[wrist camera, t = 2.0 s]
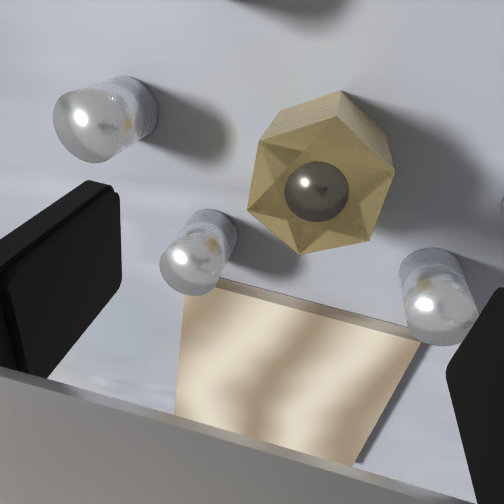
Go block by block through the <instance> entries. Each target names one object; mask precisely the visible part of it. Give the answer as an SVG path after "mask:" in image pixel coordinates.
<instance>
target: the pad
mask: <svg viewBox="0 0 504 504" xmlns="http://www.w3.org/2000/svg"><path fill="white" fill-rule="evenodd" d="M420 344H421V341H420V340H418V339H417V338H415V337H414V336H413V335H412V333H411V332H410V330H409V328H407V327H403V326H400V325H396V324H392V323H388V322H385V321H381V320H377V319H373V318H370V317H366V316H362V315H358V314H355V313H351V312H347V311H343V310H339V309H336V308H332V307H328V306H324V305H321V304H317V303H313V302H309V301H306V300H302V299H298V298H294V297H291V296H287V295H283V294H279V293H275V292H272V291H268V290H264V289H260V288H257V287H253V286H249V285H245V284H242V283H238V282H234V281H230V280H227V279H223V278H219V279H218V281H217V283H216V285H215V287H214V288H213V289H212V290H211V291H210V292H209V293H207V294H205V295H201V296H189V295H185V298H184V309H183V321H182V332H181V344H180V355H179V367H178V378H177V390H176V401H175V413H174V415H176V416H179V417H182V418H186V419H189V420H193V421H196V422H200V423H203V424H207V425H210V426H213V427H217V428H220V429H224V430H227V431H231V432H234V433H237V434H241V435H244V436H248V437H251V438H255V439H258V440H261V441H265V442H268V443H272V444H275V445H278V446H282V447H285V448H289V449H292V450H296V451H299V452H302V453H306V454H309V455H313V456H316V457H319V458H323V459H326V460H330V461H333V462H336V463H340V464H343V465H347V466H350V467H352V466H353V464H354V462H355V461H356V459H357V457H358V455H359V453H360V452H361V450H362V448H363V446H364V444H365V443H366V441H367V439H368V437H369V435H370V434H371V432H372V430H373V428H374V426H375V425H376V423H377V421H378V419H379V417H380V416H381V414H382V412H383V410H384V408H385V407H386V405H387V403H388V401H389V399H390V398H391V396H392V394H393V392H394V391H395V389H396V387H397V385H398V383H399V382H400V380H401V378H402V376H403V374H404V373H405V371H406V369H407V367H408V365H409V364H410V362H411V360H412V358H413V356H414V355H415V353H416V351H417V349H418V347H419V346H420Z"/></svg>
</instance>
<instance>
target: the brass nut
mask: <svg viewBox="0 0 504 504" xmlns="http://www.w3.org/2000/svg"><path fill="white" fill-rule="evenodd" d="M394 174H395V169H394V165H393V161H392V157H391V153H390V149H389V144H388V140H387V136H386V134H385V133H384V132H383V131H382V130H381V129H380V128H379V127H378V126H377V125H376V124H375V123H374V122H373V121H372V120H371V119H370V118H369V117H368V116H367V115H366V114H365V113H364V112H363V111H362V110H361V109H360V108H359V107H358V106H357V105H356V104H355V103H354V102H353V101H352V100H351V99H350V98H349V97H348V96H347V95H346V94H345V93H344V92H343V91H342V90H340V91H337V92H334V93H331V94H328V95H325V96H322V97H319V98H317V99H314V100H311V101H308V102H305V103H302V104H299V105H296V106H293V107H290V108H287V109H284V110H281V111H280V112H279V113H278V115H277V116H276V117H275V119H274V120H273V122H272V123H271V124H270V126H269V127H268V129H267V130H266V132H265V133H264V134H263V136H262V137H261V139H260V140H259V143H258V149H257V154H256V160H255V166H254V172H253V178H252V183H251V189H250V195H249V201H248V207H247V211H248V212H249V213H250V214H252V215H253V216H254V217H255V218H256V219H258V220H259V221H260V222H261V223H262V224H263V225H265V226H266V227H267V228H268V229H269V230H270V231H272V232H273V233H274V234H275V235H276V236H277V237H279V238H280V239H281V240H282V241H283V242H285V243H286V244H287V245H288V246H289V247H290V248H292V249H293V250H294V251H295V252H296V253H297V254H299V255H301V254H306V253H311V252H316V251H321V250H326V249H331V248H336V247H341V246H346V245H351V244H356V243H361V242H366V241H369V240H370V238H371V235H372V232H373V230H374V227H375V224H376V222H377V219H378V217H379V214H380V211H381V209H382V206H383V203H384V201H385V198H386V196H387V193H388V190H389V188H390V185H391V182H392V180H393V177H394Z"/></svg>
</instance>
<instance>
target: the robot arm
mask: <svg viewBox="0 0 504 504" xmlns="http://www.w3.org/2000/svg"><path fill="white" fill-rule="evenodd" d="M121 280H122V261H121V227H120V198H119V195H118V193H116V192H114V190H113V187H112V186H111V185H107V184H103V183H99V182H94V181H90V180H87V181H85V182H84V183H82V184H81V185H79V186H78V187H76V188H75V189H73V190H72V191H70V192H69V193H68V194H66V195H65V196H63V197H62V198H60V199H59V200H57V201H56V202H54V203H53V204H51V205H50V206H49V207H47V208H46V209H44V210H43V211H41V212H40V213H38V214H37V215H35V216H34V217H32V218H31V219H30V220H28V221H27V222H25V223H24V224H22V225H21V226H19V227H18V228H16V229H15V230H13V231H12V232H11V233H9V234H8V235H6V236H5V237H3V238H2V239H0V504H474V503H471V502H467V501H464V500H461V499H457V498H454V497H451V496H447V495H444V494H441V493H437V492H434V491H431V490H427V489H424V488H420V487H417V486H414V485H410V484H407V483H404V482H400V481H397V480H394V479H390V478H387V477H384V476H380V475H377V474H373V473H370V472H367V471H363V470H360V469H357V468H353V467H350V466H347V465H343V464H340V463H336V462H333V461H330V460H326V459H323V458H319V457H316V456H313V455H309V454H306V453H302V452H299V451H296V450H292V449H289V448H285V447H282V446H278V445H275V444H272V443H268V442H265V441H261V440H258V439H255V438H251V437H248V436H244V435H241V434H237V433H234V432H231V431H227V430H224V429H220V428H217V427H213V426H210V425H207V424H203V423H200V422H196V421H193V420H189V419H186V418H182V417H179V416H176V415H172V414H169V413H165V412H162V411H158V410H155V409H151V408H148V407H144V406H141V405H137V404H134V403H130V402H127V401H123V400H120V399H116V398H113V397H109V396H105V395H102V394H99V393H95V392H91V391H88V390H85V389H81V388H78V387H74V386H71V385H67V384H64V383H60V382H57V381H53V380H49V379H47V378H48V376H49V375H50V374H51V373H52V371H53V370H54V369H55V368H56V366H57V365H58V364H59V363H60V361H61V360H62V359H63V358H64V356H65V355H66V354H67V353H68V351H69V350H70V349H71V348H72V346H73V345H74V344H75V343H76V341H77V340H78V339H79V338H80V336H81V335H82V334H83V333H84V332H85V330H86V329H87V328H88V327H89V325H90V324H91V323H92V322H93V320H94V319H95V318H96V317H97V315H98V314H99V313H100V312H101V310H102V309H103V308H104V307H105V305H106V304H107V303H108V302H109V300H110V299H111V298H112V297H113V295H114V294H115V293H116V292H117V290H118V289H119V287H120V284H121ZM446 380H447V384H448V388H449V392H450V396H451V400H452V404H453V408H454V412H455V416H456V420H457V424H458V428H459V432H460V436H461V440H462V444H463V448H464V452H465V456H466V460H467V464H468V468H469V472H470V476H471V480H472V484H473V488H474V492H475V496H476V499H477V503H478V504H504V288H502V287H500V288H498V289H497V290H496V291H495V292H494V293H493V295H492V297H491V298H490V300H489V301H488V303H487V304H486V306H485V307H484V309H483V311H482V312H481V314H480V315H479V317H478V318H477V320H476V321H475V323H474V325H473V326H472V328H471V329H470V331H469V332H468V334H467V335H466V337H465V339H464V340H463V342H462V343H461V345H460V346H459V348H458V349H457V351H456V353H455V354H454V356H453V357H452V359H451V360H450V362H449V364H448V366H447V369H446Z"/></svg>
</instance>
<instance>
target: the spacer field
mask: <svg viewBox="0 0 504 504" xmlns="http://www.w3.org/2000/svg"><path fill="white" fill-rule="evenodd" d="M157 119H158V108H157V104H156V101H155V98H154V96H153V94H152V93H151V91H150V90H149V89H148V88H147V87H146V86H145V85H144V84H143V83H142V82H141V81H139V80H137V79H135V78H132V77H128V76H120V77H116V78H113V79H110V80H107V81H103V82H100V83H97V84H94V85H90V86H87V87H84V88H81V89H77V90H74V91H71V92H68V93H66V94H64V95H62V96H61V97H60V98H59V99H58V101H57V102H56V104H55V107H54V111H53V123H54V127H55V131H56V133H57V135H58V137H59V139H60V141H61V142H62V144H63V145H64V146H65V148H66V149H67V150H68V151H69V152H70V153H71V154H73V155H74V156H76V157H77V158H79V159H81V160H83V161H86V162H90V163H101V162H104V161H107V160H108V159H110V158H111V157H113V156H115V155H116V154H118V153H119V152H121V151H123V150H124V149H126V148H127V147H129V146H131V145H132V144H134V143H135V142H137V141H138V140H140V139H142V138H143V137H145V136H146V135H148V134H149V133H150V132H152V130H153V129H154V127H155V126H156V123H157ZM501 211H502V215H503V217H504V197H503V200H502V205H501ZM237 237H238V236H237V230H236V227H235V225H234V223H233V222H232V221H231V219H230V218H229V217H227V216H226V215H225V214H223V213H221V212H219V211H216V210H211V209H205V210H201V211H198V212H196V213H195V214H194V215H193V216H192V217H191V218H190V219H189V221H188V222H187V223H186V224H185V226H184V227H183V228H182V230H181V231H180V232H179V234H178V235H177V236H176V237H175V239H174V240H173V241H172V243H171V244H170V245H169V247H168V248H167V249H166V250H165V252H164V253H163V254H162V256H161V259H160V271H161V274H162V276H163V278H164V280H165V281H166V282H167V283H168V285H169V286H171V287H172V288H173V289H175V290H176V291H178V292H180V293H182V294H185V295H189V296H201V295H205V294H207V293H209V292H210V291H211V290H212V289H213V288H214V287H215V285H216V283H217V281H218V279H219V277H220V275H221V273H222V271H223V269H224V267H225V265H226V263H227V261H228V259H229V257H230V255H231V253H232V251H233V249H234V247H235V245H236V243H237ZM399 276H400V282H401V288H402V294H403V300H404V307H405V313H406V319H407V325H408V328H409V330H410V332H411V333H412V335H413V336H414V337H415V338H417V339H418V340H420V341H422V342H424V343H426V344H430V345H435V346H449V345H454V344H458V343H461V342H463V340H464V339H465V337H466V335H467V334H468V332H469V331H470V329H471V328H472V326H473V325H474V323H475V321H476V320H477V318H478V317H479V312H478V309H477V307H476V305H475V302H474V300H473V297H472V295H471V292H470V290H469V287H468V285H467V282H466V280H465V277H464V275H463V272H462V270H461V267H460V265H459V262H458V260H457V259H456V258H455V256H454V255H452V254H451V253H450V252H448V251H446V250H443V249H439V248H424V249H420V250H417V251H415V252H413V253H411V254H410V255H409V256H407V257H406V258H405V259H404V261H403V262H402V264H401V266H400V270H399Z"/></svg>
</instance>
